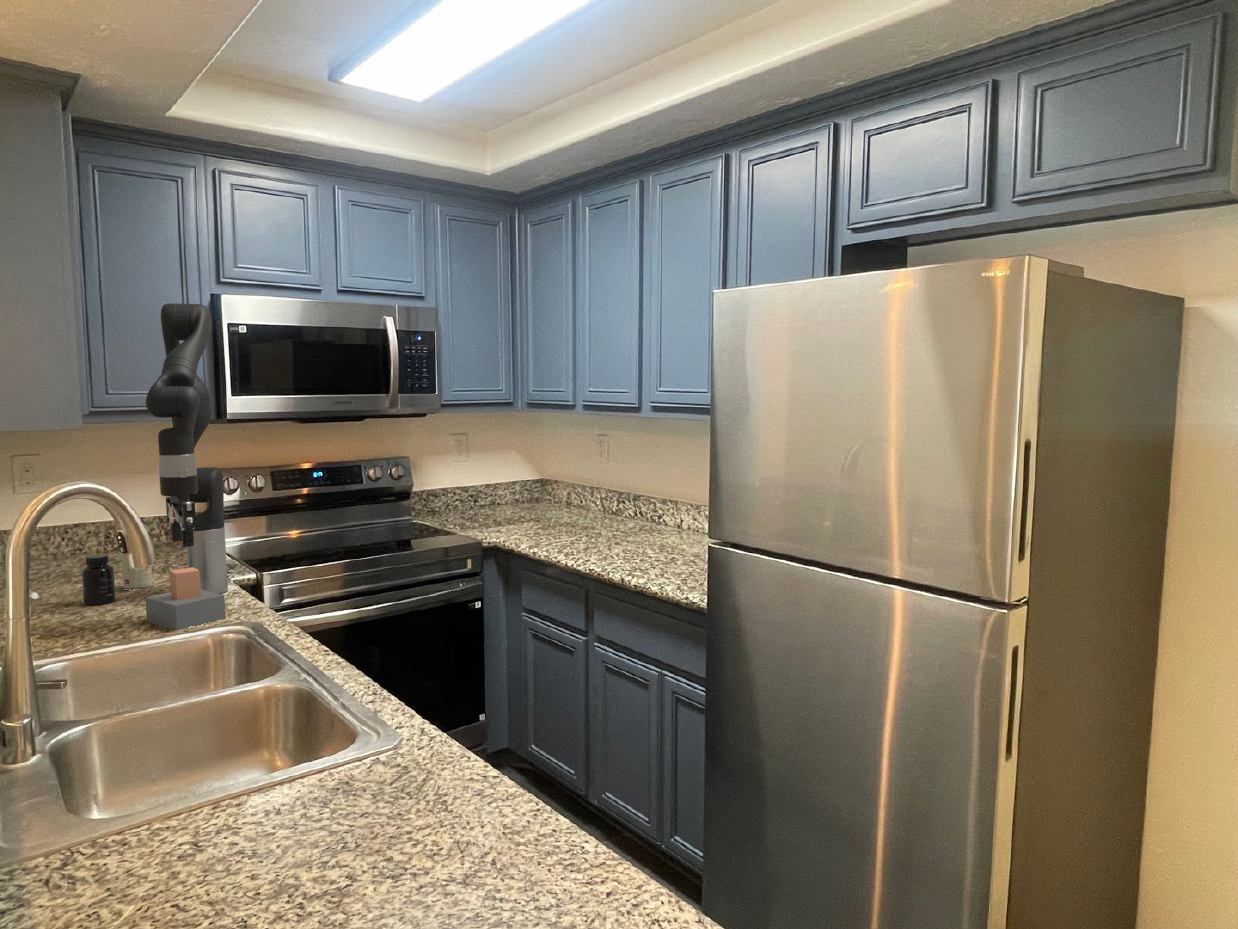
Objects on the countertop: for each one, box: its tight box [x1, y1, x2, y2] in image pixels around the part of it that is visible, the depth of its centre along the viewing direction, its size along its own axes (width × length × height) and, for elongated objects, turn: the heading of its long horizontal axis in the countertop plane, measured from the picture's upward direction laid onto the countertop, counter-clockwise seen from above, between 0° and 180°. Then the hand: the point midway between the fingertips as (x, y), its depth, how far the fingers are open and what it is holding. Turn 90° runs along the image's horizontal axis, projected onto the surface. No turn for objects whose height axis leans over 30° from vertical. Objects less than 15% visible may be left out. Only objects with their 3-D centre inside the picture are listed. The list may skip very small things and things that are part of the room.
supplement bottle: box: [81, 554, 116, 607], centre depth 202 cm, size 7×7×12 cm
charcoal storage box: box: [144, 590, 226, 632], centre depth 185 cm, size 14×11×6 cm
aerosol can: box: [120, 524, 153, 590], centre depth 217 cm, size 7×7×20 cm
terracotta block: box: [169, 567, 201, 600], centre depth 185 cm, size 5×5×6 cm
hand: (182, 543), depth 184 cm, fingers open, 8 cm apart
